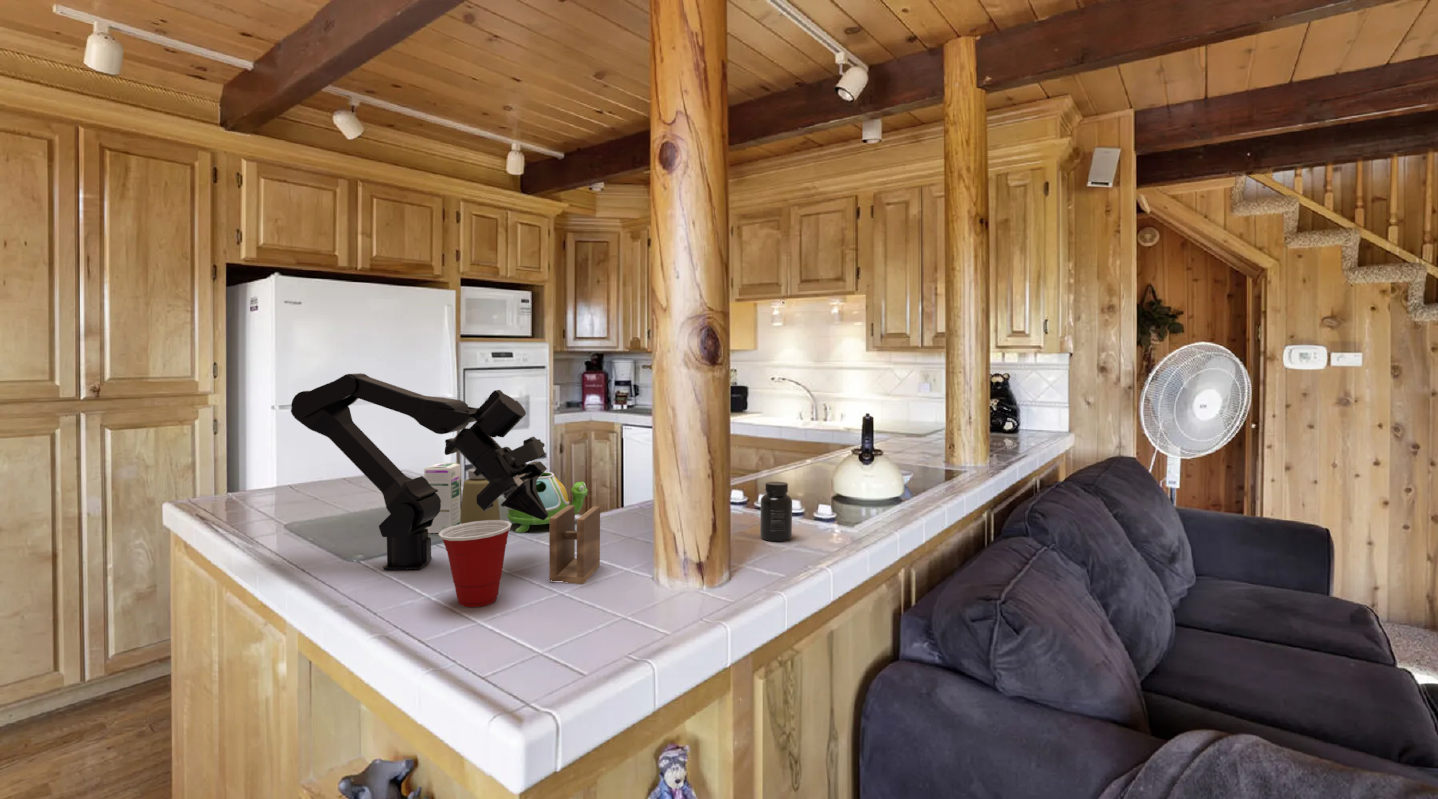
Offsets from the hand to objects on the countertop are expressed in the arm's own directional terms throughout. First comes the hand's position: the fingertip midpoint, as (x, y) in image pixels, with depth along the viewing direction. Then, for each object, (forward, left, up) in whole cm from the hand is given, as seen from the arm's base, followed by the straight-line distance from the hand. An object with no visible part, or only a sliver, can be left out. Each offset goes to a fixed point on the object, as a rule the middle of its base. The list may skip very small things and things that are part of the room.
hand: (546, 518), depth 120 cm
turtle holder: (-6, +33, -10) cm, 35 cm away
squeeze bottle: (-18, +24, -10) cm, 32 cm away
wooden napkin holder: (+5, -1, -10) cm, 11 cm away
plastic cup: (-9, -14, -10) cm, 19 cm away
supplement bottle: (+45, +21, -10) cm, 51 cm away
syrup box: (-27, +29, -10) cm, 41 cm away
